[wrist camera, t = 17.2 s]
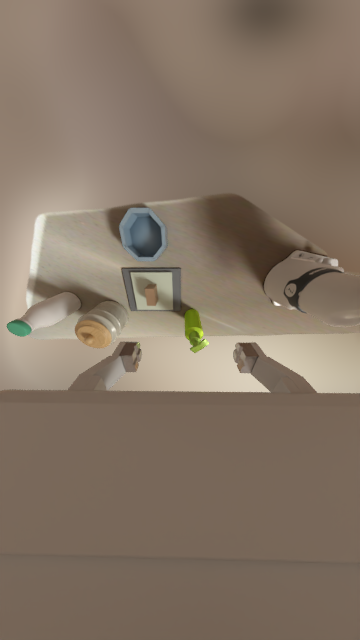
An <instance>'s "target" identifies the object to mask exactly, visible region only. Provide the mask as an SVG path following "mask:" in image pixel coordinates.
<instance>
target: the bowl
mask: <svg viewBox="0 0 360 640" xmlns="http://www.w3.org/2000/svg"><path fill="white" fill-rule="evenodd" d="M119 225H120V226H119V230H120V235H121V240H122V245H123V247H124V249H125V250H126V251H127V252H128V253H129V254H131V255H132V256H133V257H134V258H135V259H136V260H137V261H155V260H157V259H158V258H159V257H160V256H161V254H162V253H163V252H164V251H165V250H166V248H167V246H168V239H167V228H166V226H165V225H164V223H163V222H162V221H161V220H160V219H159V218H158V217H157V215H156V214H155V213H154V212H153V211H152V210H151V209H149V208H130V209H128V211H127V213H126V214H125V216H124V218H123V219H122V221H121V223H120V224H119Z"/></svg>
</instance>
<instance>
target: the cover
mask: <svg viewBox="0 0 360 640" xmlns="http://www.w3.org/2000/svg"><path fill="white" fill-rule="evenodd" d="M130 273H131V279H132V284H133V289H134V294H135V300H136V305H137V310H173V288H172V272H130Z"/></svg>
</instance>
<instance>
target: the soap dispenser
mask: <svg viewBox="0 0 360 640" xmlns="http://www.w3.org/2000/svg"><path fill="white" fill-rule="evenodd" d="M185 336H186V338H187V339H188V340H189V341H190V344H191V345H193V347H192V348H190V350H192V351H193V352H194V353H196V352H197V351H199V350H201V349H203V348H204V347H205V346H206V345H208V344H209V342H208V341H207V340H205V339H203V340H202V341H201V340H200V339H201V338H202V337H203V330H202V326H201V322H200V317H199V313H198V312H197V311H196V310H194V309H189V310H187V311H186V313H185Z"/></svg>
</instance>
